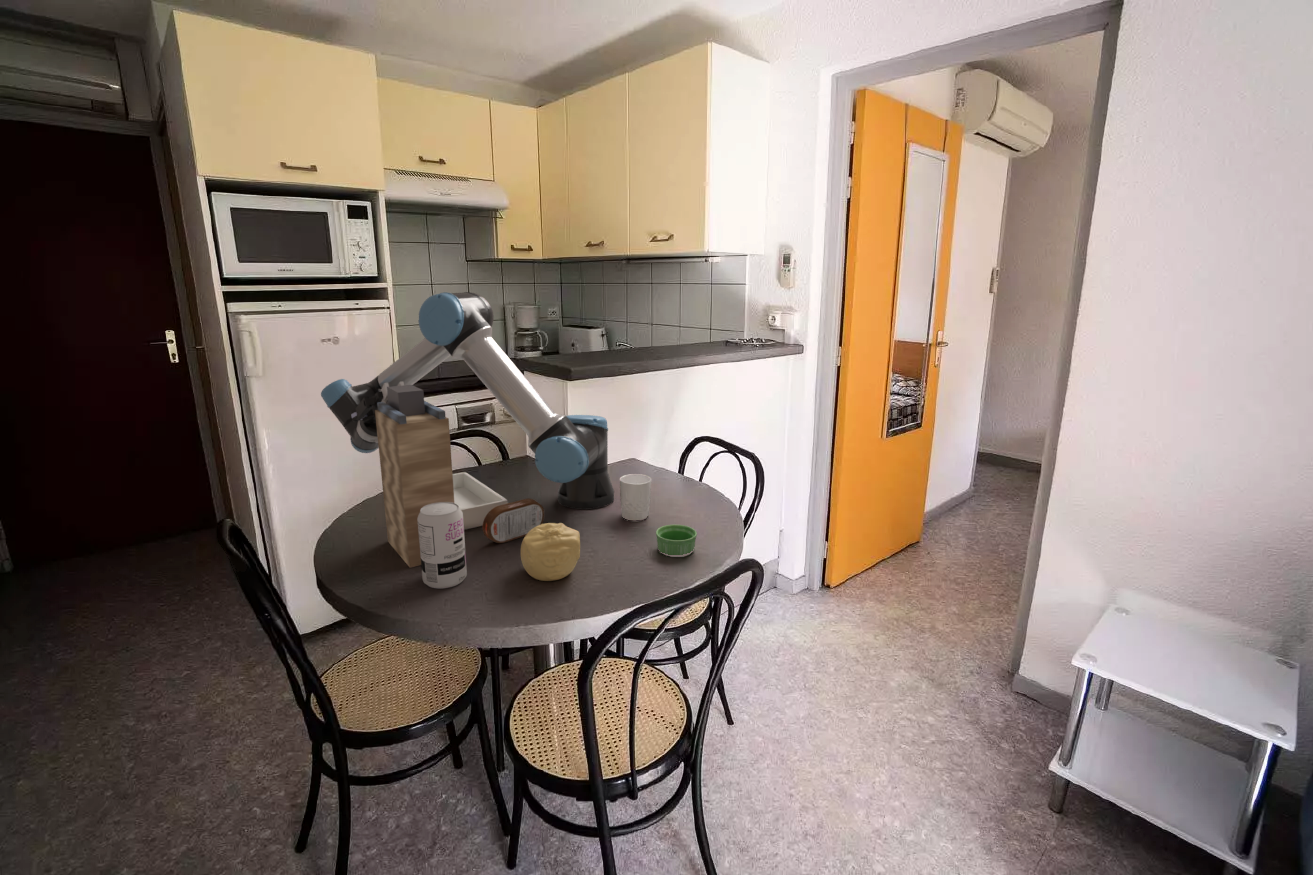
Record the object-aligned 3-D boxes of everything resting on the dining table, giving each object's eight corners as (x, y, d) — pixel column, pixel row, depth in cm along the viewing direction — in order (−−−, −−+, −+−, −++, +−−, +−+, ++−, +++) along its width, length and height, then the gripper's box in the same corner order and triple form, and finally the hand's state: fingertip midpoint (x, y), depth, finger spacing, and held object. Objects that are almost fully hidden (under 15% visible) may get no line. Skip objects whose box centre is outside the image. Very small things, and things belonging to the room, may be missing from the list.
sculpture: (528, 592, 117) (526, 539, 114) (516, 565, 127) (514, 517, 125) (586, 581, 121) (586, 530, 118) (570, 556, 132) (569, 509, 129)
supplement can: (429, 571, 124) (423, 501, 121) (471, 570, 125) (466, 500, 121) (417, 590, 116) (411, 516, 113) (462, 589, 117) (457, 515, 113)
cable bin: (416, 498, 164) (415, 480, 163) (466, 488, 172) (465, 471, 171) (454, 532, 143) (452, 512, 142) (508, 519, 151) (507, 500, 150)
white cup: (652, 511, 158) (653, 474, 155) (649, 523, 150) (649, 484, 148) (622, 510, 159) (622, 473, 156) (617, 521, 151) (617, 483, 149)
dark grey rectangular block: (373, 400, 140) (371, 378, 139) (396, 398, 143) (394, 377, 142) (400, 416, 125) (398, 392, 123) (425, 414, 128) (423, 390, 126)
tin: (539, 526, 147) (538, 493, 145) (547, 530, 145) (546, 497, 143) (482, 544, 137) (480, 509, 135) (489, 549, 135) (487, 513, 133)
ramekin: (649, 545, 138) (649, 527, 137) (685, 539, 142) (685, 522, 140) (665, 562, 130) (666, 543, 129) (703, 555, 134) (704, 537, 133)
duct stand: (388, 541, 138) (374, 402, 130) (433, 531, 144) (422, 398, 136) (410, 567, 125) (396, 416, 118) (458, 555, 131) (448, 410, 124)
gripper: (411, 432, 156) (435, 400, 138) (344, 441, 147) (360, 408, 128) (405, 405, 157) (427, 369, 139) (338, 412, 148) (352, 374, 129)
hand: (395, 388), depth 134 cm, fingers closed on dark grey rectangular block, 2 cm apart
